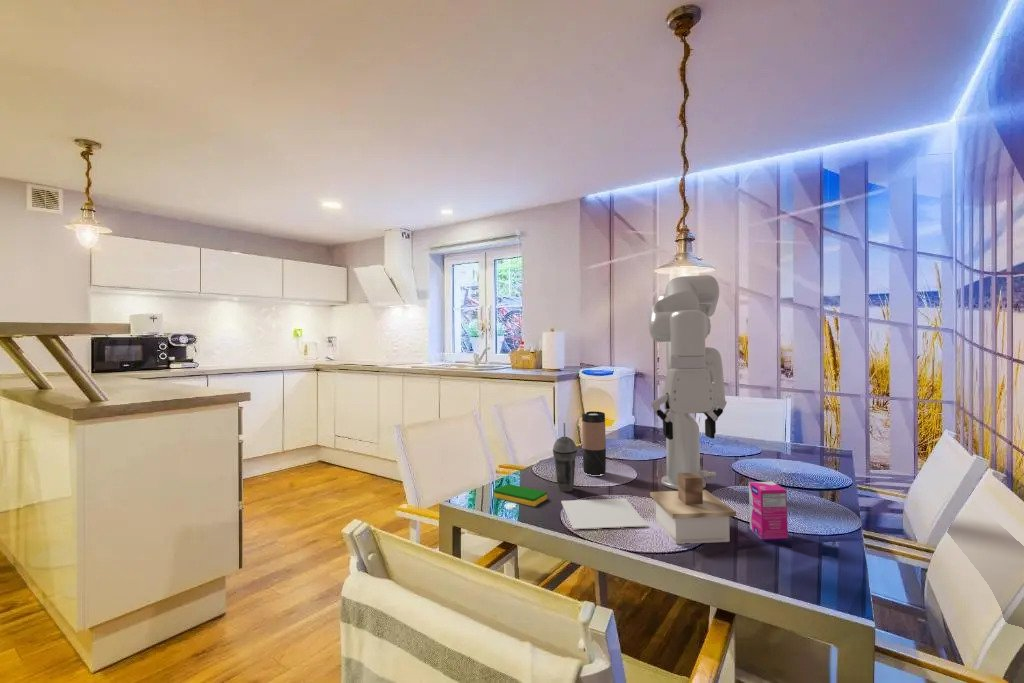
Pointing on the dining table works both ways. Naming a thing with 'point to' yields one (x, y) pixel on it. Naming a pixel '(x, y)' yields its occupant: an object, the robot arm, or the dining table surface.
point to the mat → (602, 514)
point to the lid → (691, 500)
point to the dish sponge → (520, 495)
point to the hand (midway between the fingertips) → (689, 437)
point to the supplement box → (768, 511)
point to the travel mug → (594, 443)
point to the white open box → (693, 528)
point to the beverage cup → (565, 462)
